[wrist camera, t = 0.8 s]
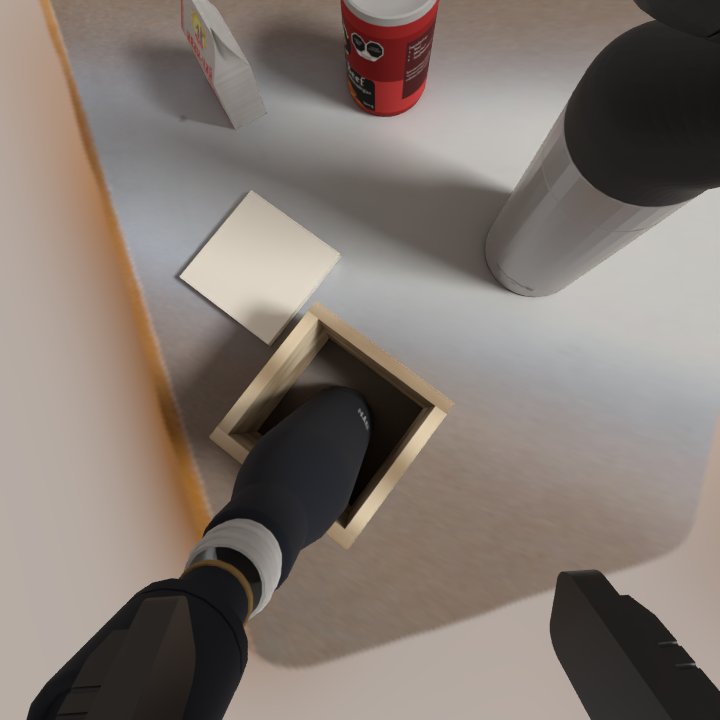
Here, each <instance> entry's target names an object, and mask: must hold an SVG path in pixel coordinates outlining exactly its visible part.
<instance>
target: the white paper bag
mask: <svg viewBox="0 0 720 720" xmlns="http://www.w3.org/2000/svg"><path fill="white" fill-rule="evenodd" d="M181 23H182V29H183V32H184V34H185V36H186V38H187V40H188V42H189V44H190V46H191V48H192V50H193V52H194V54H195V56H196V58H197V60H198V62H199V64H200V66H201V68H202V70H203V72H204V74H205V76H206V78H207V80H208V82H209V84H210V85H211V87H212V89H213V91H214V93H215V94H216V96H217V98H218V100H219V101H220V103H221V105H222V107H223V109H224V110H225V112H226V114H227V116H228V118H229V119H230V121H231V123H232V125H233V126H234V128H235V130H236V129H238V128H240V127H241V126H243V125H245V124H247V123H249V122H251V121H253V120H255V119H257V118H259V117H261V116H262V115H264V114H266V113H267V112H266V109H265V106H264V104H263V101H262V98H261V95H260V92H259V89H258V86H257V84H256V81H255V78H254V75H253V72H252V69H251V67H250V65H249V63H248V61H247V60H246V58H245V56H244V54H243V53H242V51H241V49H240V48H239V46H238V44H237V42H236V41H235V39H234V37H233V35H232V34H231V32H230V30H229V29H228V27H227V25H226V23H225V22H224V20H223V18H222V17H221V15H220V13H219V11H218V10H217V9H216V8H215V7H214V6H213V5H212V4H211V3H210V2H209V1H207V0H181Z"/></svg>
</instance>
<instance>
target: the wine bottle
mask: <svg viewBox="0 0 720 720" xmlns="http://www.w3.org/2000/svg"><path fill="white" fill-rule="evenodd" d="M373 427H374V417H373V413H372V410H371V407H370V405H369V404H368V402H367V401H366V399H365V398H364V397H363V396H362V395H360V394H359V393H358V392H357V391H355V390H353V389H350V388H347V387H340V386H333V387H329V388H326V389H323V390H321V391H320V392H319V393H317V394H316V395H314V396H313V397H312V398H310V399H309V400H308V401H307V402H305V403H304V404H303V405H302V406H300V407H299V408H298V409H296V410H295V411H294V412H293V413H291V414H290V415H289V416H288V417H286V418H285V419H284V420H283V421H281V422H280V423H279V424H277V425H276V426H275V427H274V428H272V429H271V430H270V431H269V432H267V433H266V434H265V435H264V436H262V437H261V438H260V439H259V440H258V441H257V443H256V444H255V445H254V447H253V448H252V449H251V451H250V452H249V454H248V455H247V457H246V459H245V460H244V462H243V464H242V466H241V468H240V470H239V473H238V476H237V479H236V482H235V485H234V488H233V493H232V497H231V501H230V502H229V503H228V504H227V505H226V506H225V507H224V508H223V509H222V510H221V511H220V512H219V513H218V514H217V515H216V516H215V517H214V518H213V519H212V521H211V522H210V523H209V525H208V526H207V527H206V529H205V531H204V534H203V538H202V539H201V540H200V541H198V543H197V544H196V545H195V547H194V548H193V549H192V551H191V552H190V555H189V558H188V561H187V563H186V566H185V569H184V573H183V574H182V575H181V577H180V578H179V579H174V578H173V579H172V578H171V579H167V580H162V581H158V582H153V583H151V584H150V585H149V586H147V587H145V588H144V589H142V590H141V591H139V592H138V593H136V594H135V595H134V596H133V597H132V598H131V599H130V600H129V601H128V602H127V603H126V604H125V605H124V606H123V607H122V608H121V609H120V610H119V611H118V612H117V613H116V614H115V615H114V616H113V617H112V618H111V619H110V620H109V621H108V622H107V623H106V624H105V625H104V626H103V627H102V628H101V629H100V630H99V631H98V632H97V633H96V634H95V635H94V636H93V637H92V638H91V639H90V640H89V641H88V642H87V643H86V644H85V645H84V646H83V647H82V648H81V649H80V650H79V651H78V652H77V653H76V654H75V655H74V656H73V657H72V658H71V659H70V660H69V661H68V662H67V663H66V664H65V665H64V666H63V667H62V668H61V669H60V670H59V671H58V672H57V673H56V674H55V675H54V676H53V677H52V678H51V679H50V680H49V681H48V682H47V683H46V684H45V686H44V687H43V689H42V690H41V691H40V693H39V694H38V695H37V697H36V698H35V699H34V701H33V702H32V703H31V706H30V709H29V713H28V716H27V720H56V717H57V713H58V711H59V709H60V707H61V705H62V704H63V702H64V700H65V698H66V696H67V694H70V692H71V687H72V685H73V684H74V682H75V680H76V678H77V676H78V674H79V673H80V671H81V669H82V667H83V665H84V664H85V662H86V660H87V658H88V656H89V655H90V654H91V653H92V652H93V651H94V650H95V649H96V648H97V647H98V646H99V645H100V644H101V643H102V642H103V641H104V640H105V639H106V638H107V636H108V635H109V634H110V633H111V632H112V631H113V630H125V629H129V628H130V626H131V624H132V622H133V620H134V618H135V616H136V614H137V612H138V610H139V607H140V606H141V604H142V602H143V601H144V600H145V599H147V598H157V597H172V596H185V597H186V598H187V602H188V607H189V613H190V619H191V626H192V632H193V638H194V644H195V652H196V660H195V671H194V677H193V682H192V686H191V690H190V693H189V697H188V700H187V703H186V707H185V710H184V714H183V717H182V720H222V719H223V717H224V714H225V712H226V710H227V708H228V706H229V704H230V702H231V699H232V697H233V695H234V692H235V691H236V689H237V687H238V685H239V682H240V680H241V678H242V675H243V672H244V669H245V667H246V664H247V660H248V640H247V637H246V634H245V631H244V626H245V624H246V623H247V621H248V620H249V619H251V618H252V617H254V615H255V614H256V613H258V612H260V611H261V610H262V609H263V608H264V607H265V606H266V604H267V603H268V602H269V601H270V599H271V596H272V593H273V591H275V590H277V589H278V588H279V587H280V586H281V584H282V583H283V582H284V581H285V580H286V578H287V577H288V575H289V573H290V571H291V569H292V567H293V565H294V562H295V560H296V558H297V556H298V554H299V552H300V550H302V549H303V548H305V547H307V546H308V545H310V544H311V543H313V542H315V541H316V540H318V539H319V538H321V537H322V536H323V535H324V534H325V533H326V532H327V531H328V530H329V529H330V527H331V526H332V525H333V524H334V522H335V521H336V520H337V519H338V518H339V516H340V515H341V514H342V513H343V511H344V510H345V509H346V507H347V505H348V502H349V499H350V496H351V494H352V491H353V488H354V485H355V482H356V479H357V476H358V473H359V470H360V467H361V464H362V461H363V458H364V455H365V452H366V449H367V446H368V443H369V440H370V437H371V434H372V431H373Z"/></svg>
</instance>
